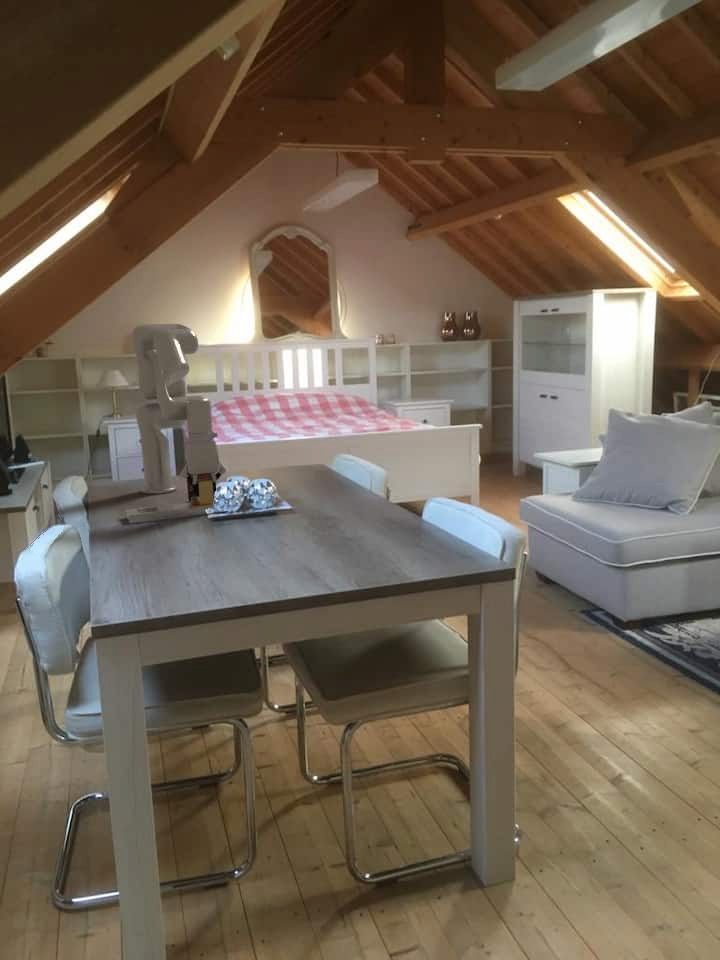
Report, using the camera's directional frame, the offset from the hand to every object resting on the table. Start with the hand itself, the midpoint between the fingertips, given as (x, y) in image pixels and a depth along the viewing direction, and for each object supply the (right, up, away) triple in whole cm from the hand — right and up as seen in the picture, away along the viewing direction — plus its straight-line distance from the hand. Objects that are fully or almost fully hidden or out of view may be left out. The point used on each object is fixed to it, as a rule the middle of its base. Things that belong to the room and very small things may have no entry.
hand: (204, 494), depth 255 cm
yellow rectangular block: (0, -3, +1) cm, 3 cm away
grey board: (-8, -6, -2) cm, 10 cm away
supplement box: (-4, -3, +16) cm, 17 cm away
